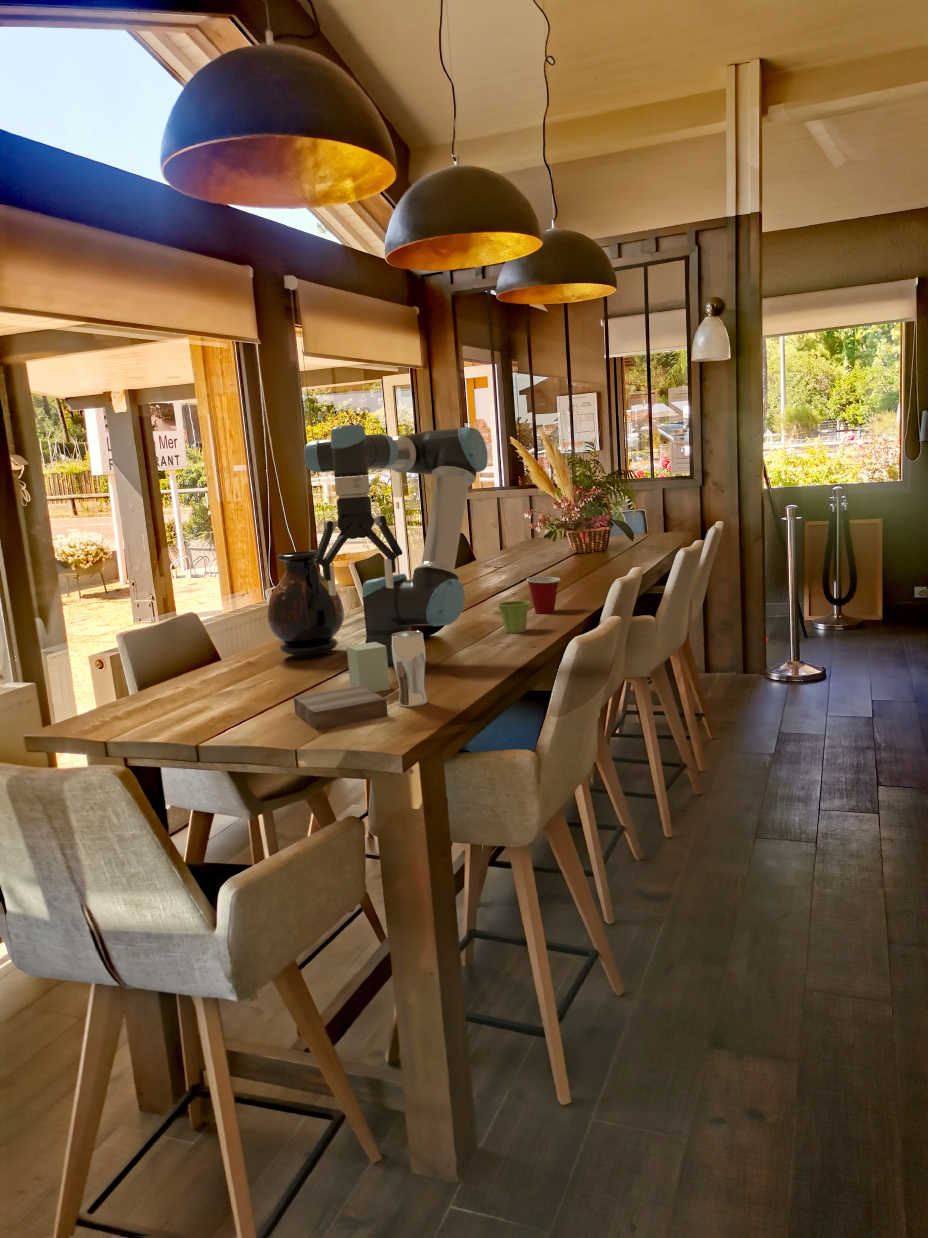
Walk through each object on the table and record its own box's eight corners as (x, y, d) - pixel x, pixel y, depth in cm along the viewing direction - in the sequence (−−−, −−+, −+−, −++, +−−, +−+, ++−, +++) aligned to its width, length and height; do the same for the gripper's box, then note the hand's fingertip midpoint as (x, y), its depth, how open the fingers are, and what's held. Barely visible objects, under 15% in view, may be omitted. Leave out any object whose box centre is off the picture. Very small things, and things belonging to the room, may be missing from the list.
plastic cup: (550, 618, 291) (548, 580, 289) (522, 617, 298) (519, 579, 296) (568, 612, 300) (566, 575, 298) (540, 611, 306) (538, 575, 304)
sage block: (350, 688, 215) (346, 646, 213) (379, 683, 218) (375, 641, 216) (360, 694, 208) (356, 650, 207) (389, 689, 211) (386, 646, 210)
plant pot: (501, 630, 277) (499, 601, 276) (532, 628, 276) (531, 599, 274) (497, 636, 268) (495, 606, 266) (530, 634, 266) (528, 604, 265)
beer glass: (398, 700, 200) (392, 631, 198) (430, 698, 200) (424, 629, 198) (394, 708, 193) (388, 637, 191) (428, 706, 193) (422, 635, 191)
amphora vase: (360, 648, 264) (351, 549, 260) (290, 661, 252) (279, 558, 248) (326, 639, 282) (317, 547, 277) (259, 651, 270) (249, 555, 265)
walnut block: (295, 716, 195) (293, 697, 195) (363, 703, 201) (361, 685, 201) (316, 732, 182) (314, 712, 181) (387, 718, 188) (386, 699, 187)
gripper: (303, 500, 197) (313, 599, 201) (411, 491, 208) (419, 586, 211) (293, 500, 204) (303, 596, 207) (399, 492, 215) (406, 583, 218)
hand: (361, 591), depth 209 cm, fingers open, 13 cm apart
